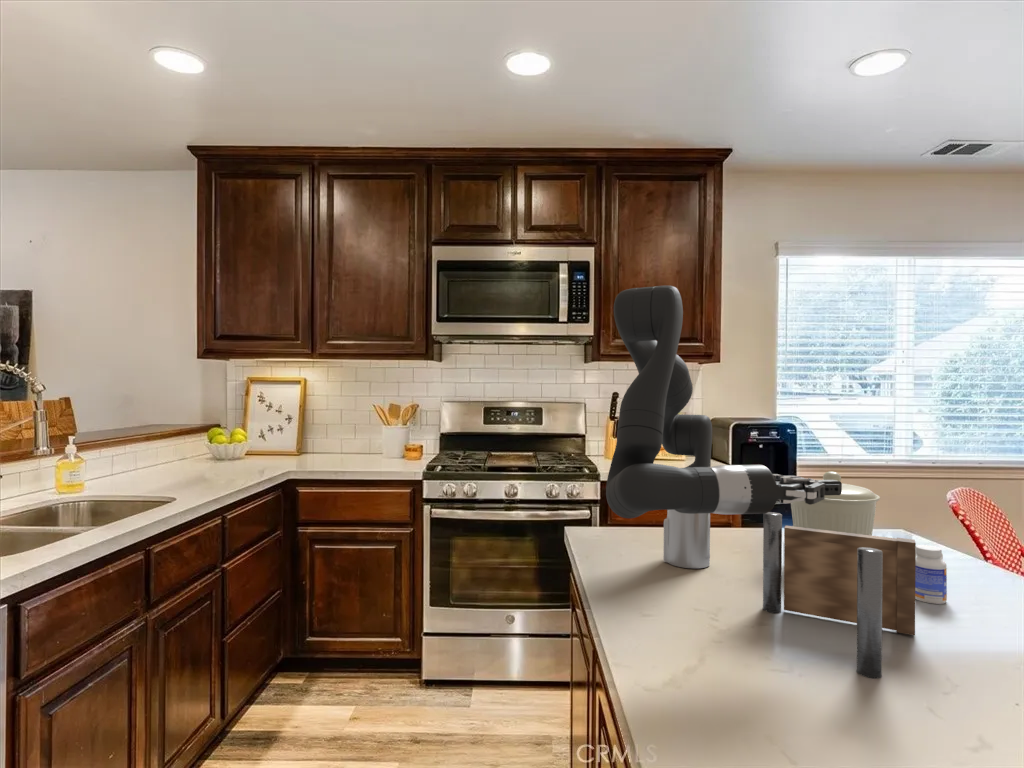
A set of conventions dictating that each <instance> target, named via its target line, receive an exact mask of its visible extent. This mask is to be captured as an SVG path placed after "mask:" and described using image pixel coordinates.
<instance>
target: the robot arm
mask: <svg viewBox="0 0 1024 768" xmlns="http://www.w3.org/2000/svg"><path fill="white" fill-rule="evenodd" d="M683 315H684V308H683V300H682V295H681V293H680V291H679V289H678V288H677V287H676V286H673V285H656V286H645V287H633V288H629V289H628V288H627V289H624V290H621V291H620V292H619V293H617V295H616V296H615V299H614V304H613V317H614V322H615V326H616V329H617V332H618V334H619V336H620V338H621V340H622V342H623V344H624V345H625V348H626V350H627V351H628V353H629V354H630V356H631V359H632V361H633V362H634V365H635V367H636V370H637V372H638V375H637V376H636V377H635V378H634V380H633V381H632V383H631V384H630V385H629V386H628V388H627V389H626V391H625V393H624V395H623V397H622V400H621V403H620V408H619V413H618V415H619V416H618V423H617V432H616V445H615V447H614V452H613V454H612V459H611V462H610V465H609V466H610V467H609V471H608V473H607V480H606V486H605V496H606V501H607V504H608V507H609V508H610V510H611V511H612V512H613V513H614V514H615V515H617V516H619V517H620V518H622V519H635V518H639V517H641V516H642V515H644V514H646V513H648V512H653V511H662V510H663V511H664V510H666V511H667V515H666V518H664V519H663V560H662V561H663V562H664V563H667V564H670V565H672V566H675V567H679V568H683V569H684V568H685V569H703V568H708V567H709V566H710V565H711V561H710V559H711V514H716V515H717V514H718V515H754V514H755V515H756V514H758V515H760V514H761V515H762V514H763V515H764V513H768V512H772V510H773V509H774V507H775V504H776V503H777V502H778V501H779V503H781V504H791V503H793V502H794V501H805V503H807V504H809V505H812V504H815V503H817V502H819V501H822V500H824V497H825V495H840V494H841V493H842V483H843V482H841V481H836V480H823V479H813V478H810V477H808V478H804V477H803V476H799V475H798V476H797V475H783V474H778V473H772V471H771V470H770V469H769V468H768V467H767V466H765V465H763V464H721V465H719V464H718V465H713V466H712V464H711V461H712V445H713V424H712V420H711V418H710V417H709V416H708V415H706V414H686V413H685V414H684V413H682V414H681V413H680V412H681V411H683V410H684V409H685V407H686V406H687V404H688V403H689V402H690V400H691V398H692V395H693V388H694V387H693V383H692V380H691V374H690V371H689V368H688V366H687V364H686V361H684V360H683V358H682V357H681V356H679V355H678V354H677V353H678V349H679V344H680V339H681V333H682V328H683V319H684V318H683V317H684V316H683ZM679 413H680V414H679ZM662 447H663V449H664V450H665V452H666V453H668V454H670V455H674V456H689V457H694V461H692V463H691V464H688V465H687V466H686V467H678V466H672V465H667V464H660V463H654V462H655V459H656V457H657V456H658V454H660V453H659V452H660V451H661V448H662Z"/></svg>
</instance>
